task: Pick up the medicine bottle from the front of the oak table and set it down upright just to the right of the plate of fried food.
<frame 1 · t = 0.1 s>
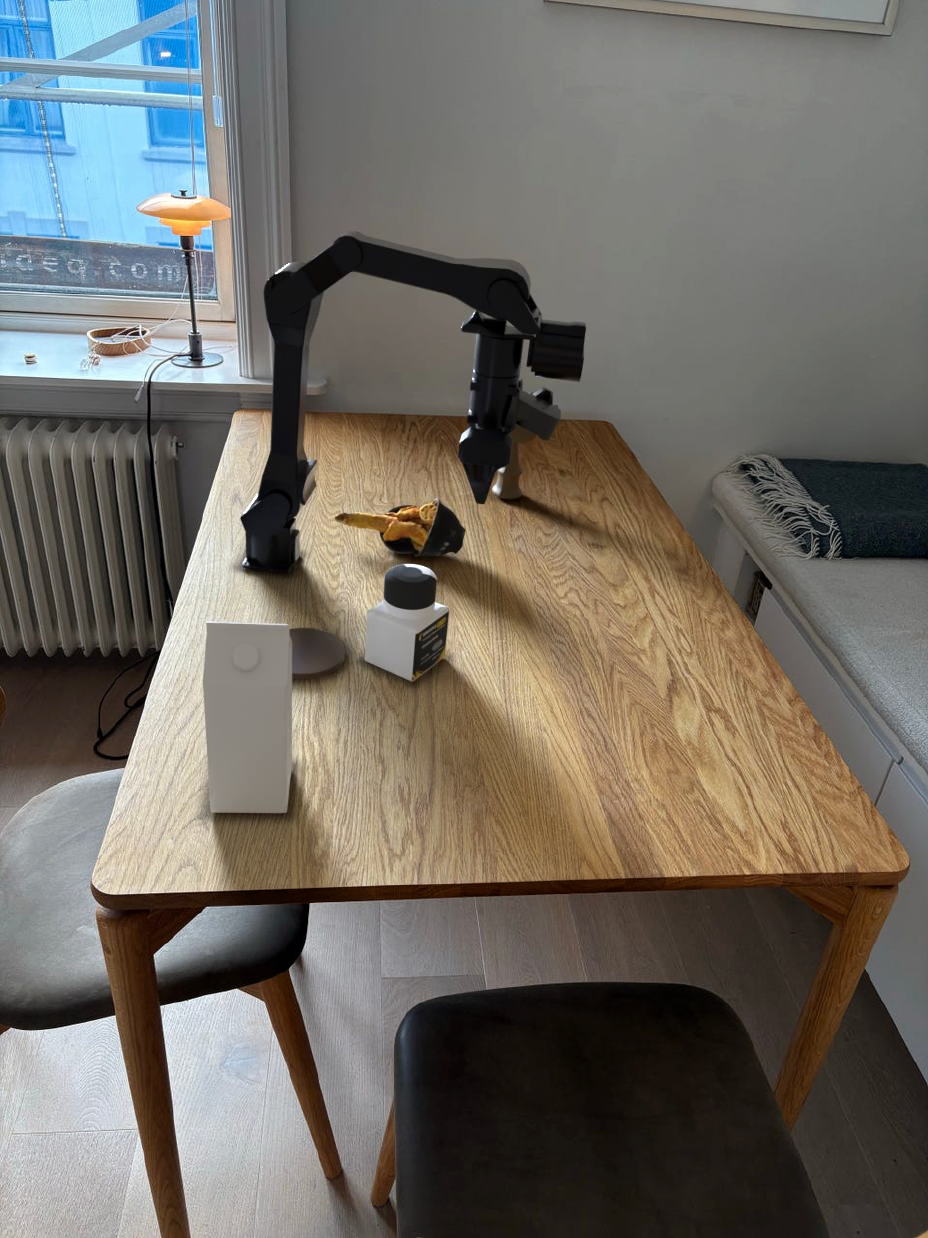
hand: (483, 489, 124), 15 cm above the table, tool pointing down, fingers open, 9 cm apart
medicine bottle: (404, 660, 115), on the table
coaster: (303, 655, 113), on the table
fried food: (401, 549, 140), on the table
kendama: (506, 496, 160), on the table
milk carton: (252, 790, 93), on the table
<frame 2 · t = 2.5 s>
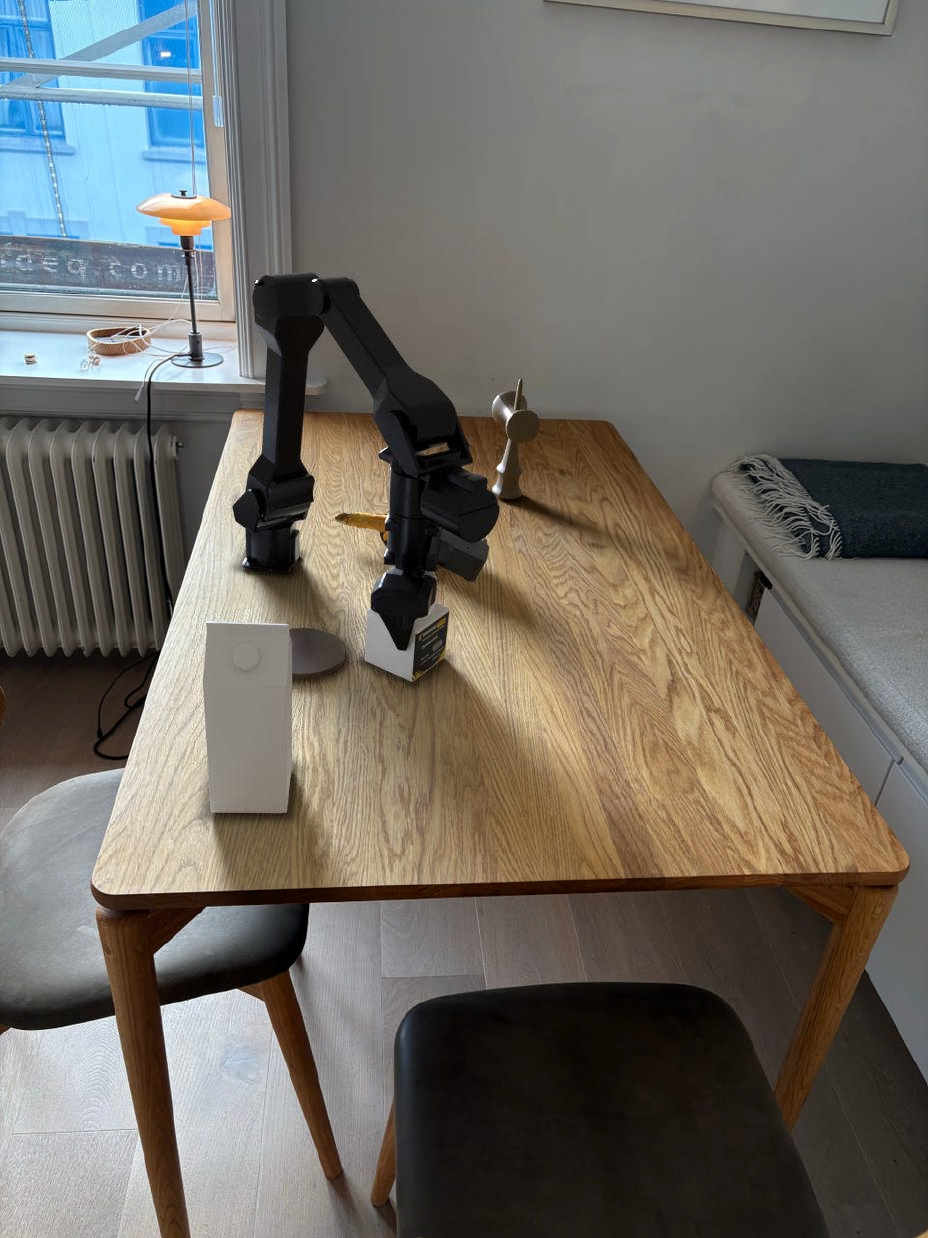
hand: (408, 629, 112), 4 cm above the table, tool pointing down, fingers closed on medicine bottle, 9 cm apart
medicine bottle: (404, 661, 115), on the table, touching gripper
everything else where it was.
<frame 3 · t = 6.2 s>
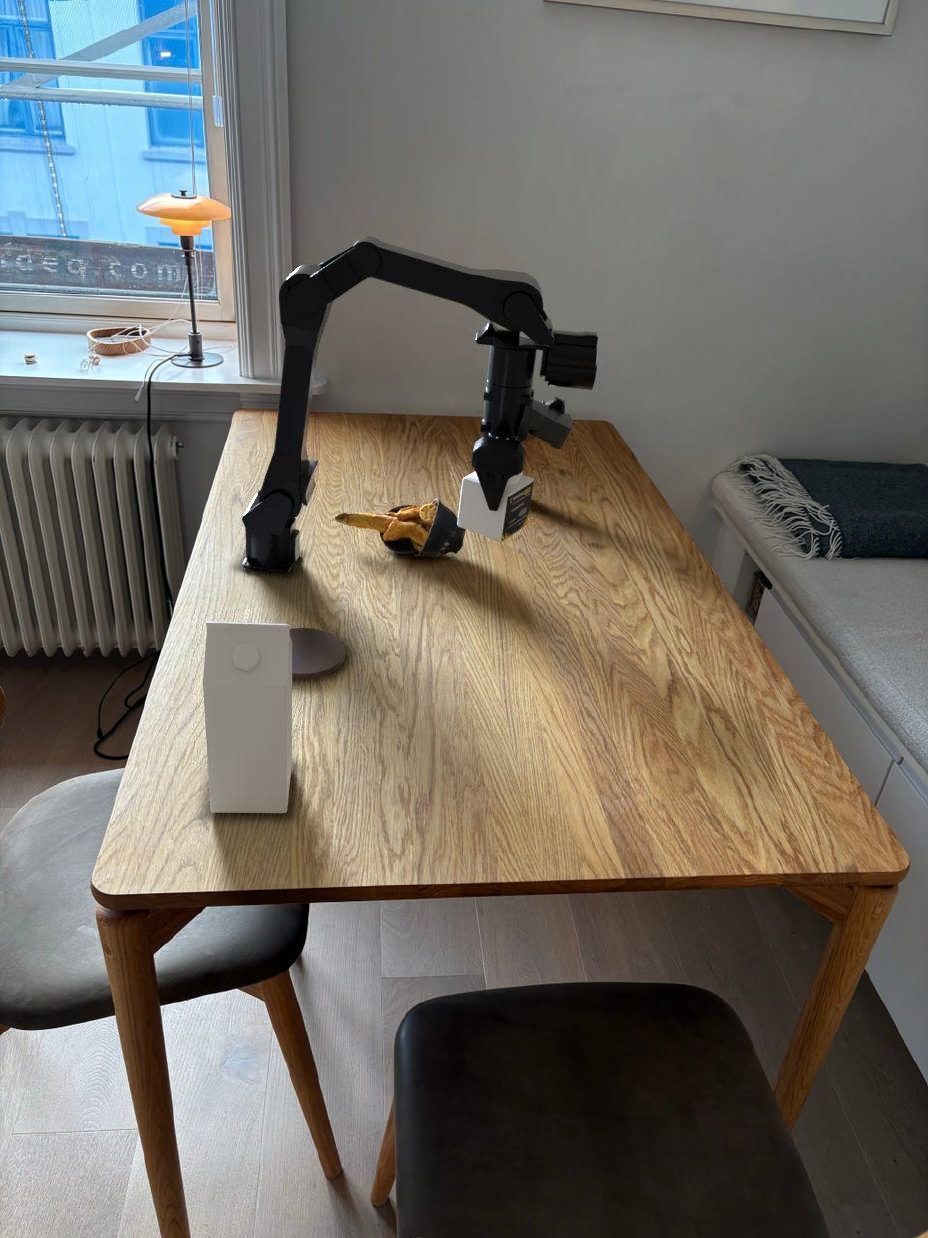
hand: (496, 496, 126), 13 cm above the table, tool pointing down, fingers closed on medicine bottle, 9 cm apart
medicine bottle: (491, 527, 128), point 8 cm above the table, touching gripper
everything else where it was.
when the fingers open (4 cm above the table, at t = 10.0 s): medicine bottle stays where it is, on the table.
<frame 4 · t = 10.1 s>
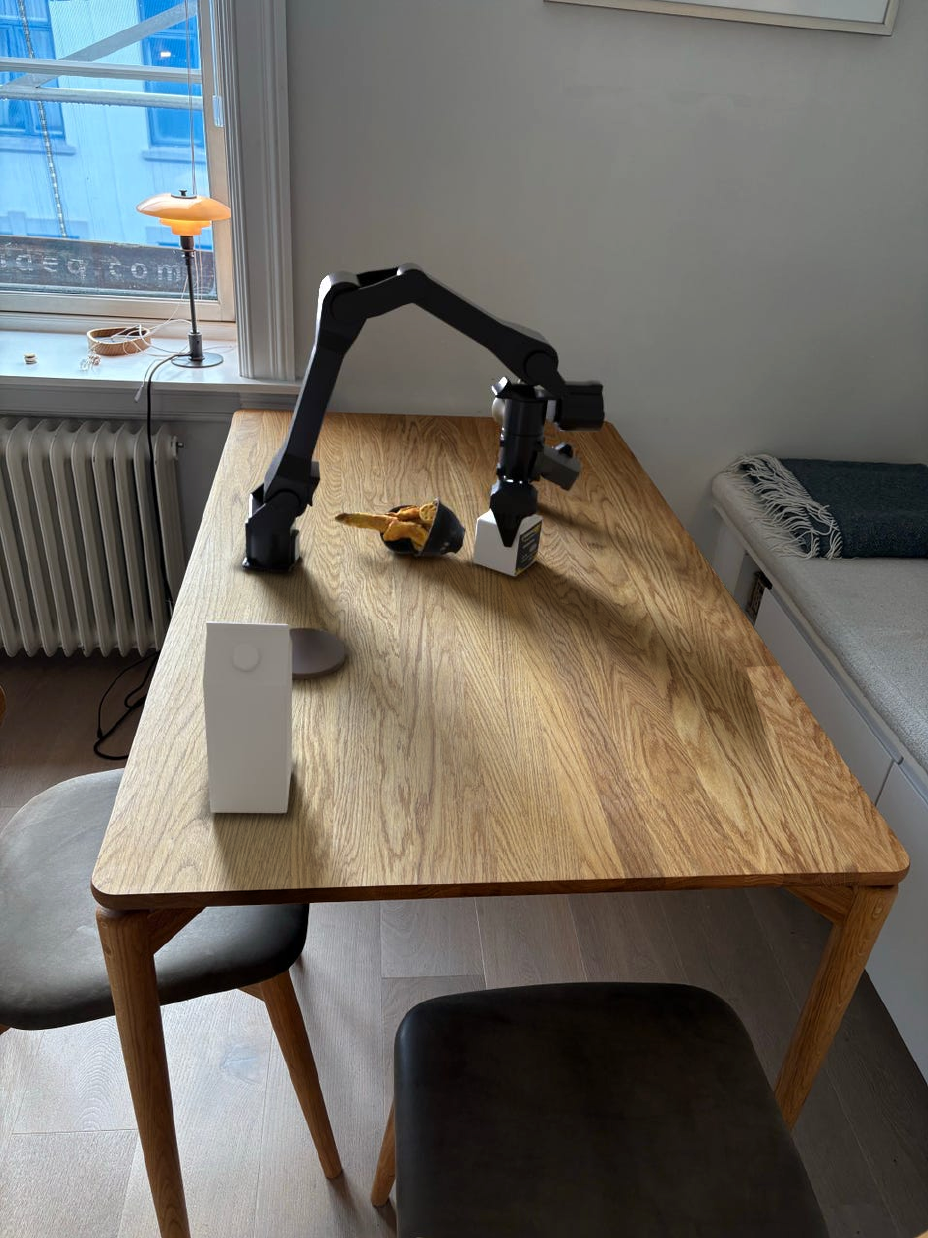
hand: (509, 532, 136), 5 cm above the table, tool pointing down, fingers open, 9 cm apart
medicine bottle: (504, 562, 139), on the table, touching gripper
everything else where it was.
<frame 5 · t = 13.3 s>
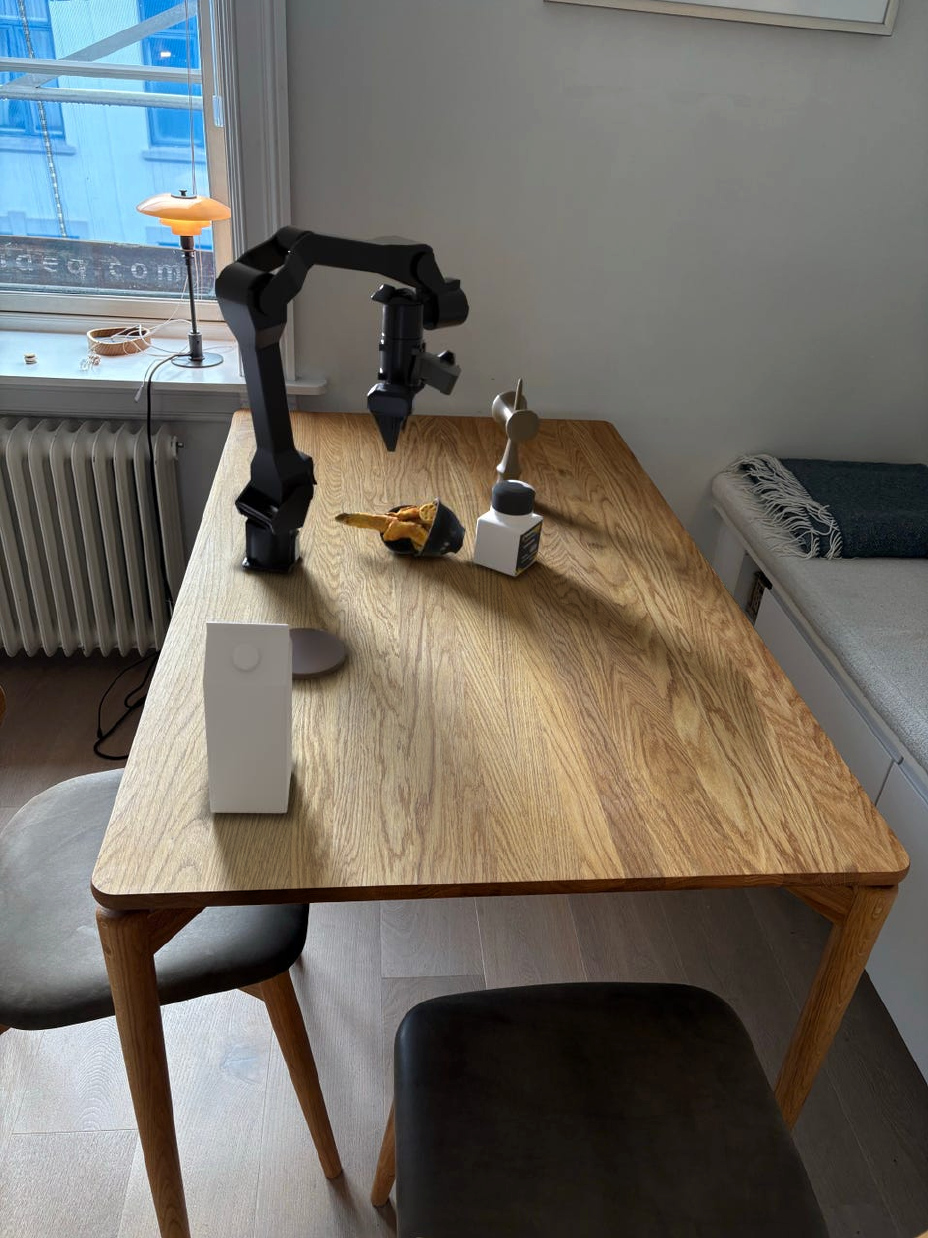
hand: (396, 440, 141), 13 cm above the table, tool pointing down, fingers open, 9 cm apart
medicine bottle: (504, 562, 139), on the table
everything else where it was.
at the end: medicine bottle inside the target area on the table beside the fried food (0.7 cm from its centre), on the table; medicine bottle tilted 0°; fried food moved 0.2 cm from its start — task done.
